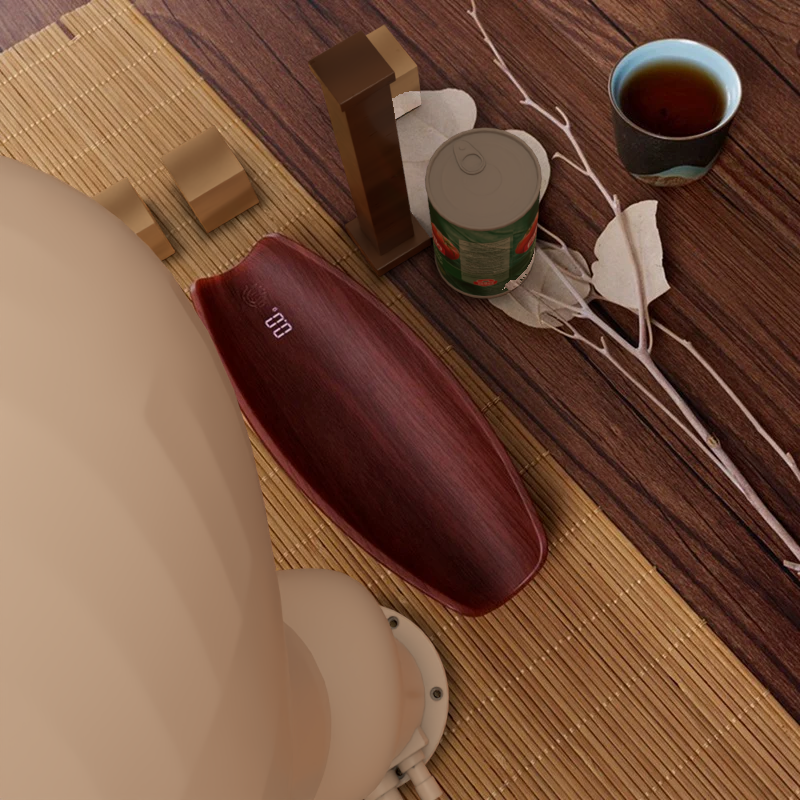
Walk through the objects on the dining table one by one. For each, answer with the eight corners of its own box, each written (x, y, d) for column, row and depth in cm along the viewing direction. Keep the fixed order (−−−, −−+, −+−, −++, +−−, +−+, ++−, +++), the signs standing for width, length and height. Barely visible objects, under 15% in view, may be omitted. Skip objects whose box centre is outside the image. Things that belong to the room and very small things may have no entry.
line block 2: (259, 202, 76) (244, 169, 71) (207, 233, 76) (188, 202, 71) (230, 159, 78) (213, 124, 73) (179, 190, 77) (159, 156, 72)
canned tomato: (554, 269, 72) (564, 194, 61) (465, 316, 71) (461, 249, 61) (502, 192, 74) (504, 108, 64) (416, 237, 74) (404, 160, 63)
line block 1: (175, 252, 75) (154, 222, 71) (122, 284, 75) (97, 256, 70) (148, 208, 77) (126, 176, 72) (96, 239, 76) (70, 209, 72)
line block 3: (422, 104, 78) (417, 65, 73) (372, 135, 77) (364, 97, 72) (390, 65, 79) (384, 24, 74) (341, 94, 79) (331, 55, 74)
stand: (431, 245, 73) (409, 73, 54) (379, 277, 73) (336, 117, 53) (398, 199, 75) (364, 17, 55) (346, 231, 74) (293, 59, 55)
